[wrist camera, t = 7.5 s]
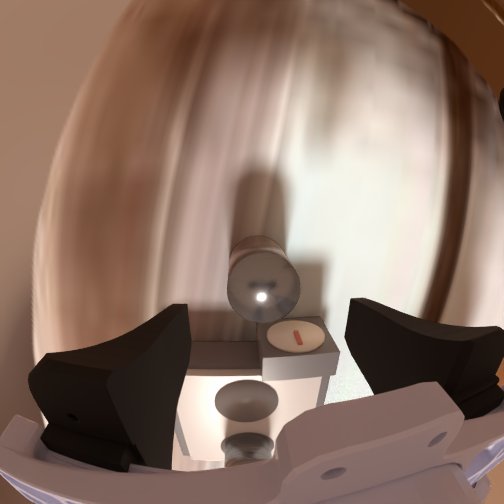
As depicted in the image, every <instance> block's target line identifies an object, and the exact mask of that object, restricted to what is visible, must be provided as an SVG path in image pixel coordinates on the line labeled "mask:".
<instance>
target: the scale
mask: <svg viewBox="0 0 504 504" xmlns="http://www.w3.org/2000/svg"><path fill="white" fill-rule="evenodd" d="M191 342H192V346H191V354H190V361H189V365H188V369H187V372H186V376H185V380H184V383H183V387H182V390H181V394H180V397H179V401H178V406H177V412H176V420H175V428H174V429H175V432H176V435H177V438H178V441H179V444H180V447H181V450H182V453H183V455H186V456H190V457H191V460H207V461H225V442H226V440H227V439H228V438H229V437H231V436H233V435H236V434H240V433H257V434H261V435H263V436H265V437H267V438H268V439H269V441H270V447H271V454H272V457H273V455H274V450H275V441H276V438H277V436H278V435H279V433H280V431H281V429H282V428H283V426H284V425H285V424H286V423H288V422H289V421H291V420H292V419H294V418H295V417H297V416H298V415H300V414H301V413H303V412H304V411H306V410H310V409H313V408H317V407H320V406H323V405H324V401H325V397H326V392H327V388H328V383H329V379H330V375H335V374H336V369H337V365H338V360H339V355H340V351H339V349H338V347H337V345H336V344H335V342H334V340H333V338H332V337H331V335H330V333H329V331H328V330H327V328H326V326H325V324H324V323H323V321H322V319H321V317H305V318H286V319H278V320H276V321H273V322H268V323H257V341H239V342H199V341H191Z"/></svg>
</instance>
